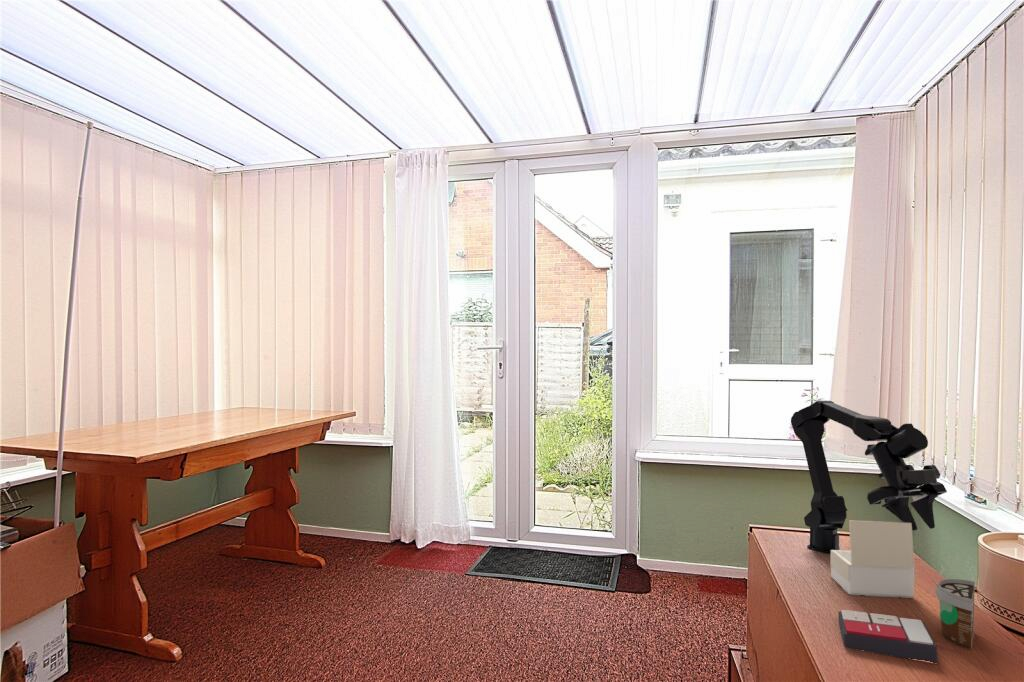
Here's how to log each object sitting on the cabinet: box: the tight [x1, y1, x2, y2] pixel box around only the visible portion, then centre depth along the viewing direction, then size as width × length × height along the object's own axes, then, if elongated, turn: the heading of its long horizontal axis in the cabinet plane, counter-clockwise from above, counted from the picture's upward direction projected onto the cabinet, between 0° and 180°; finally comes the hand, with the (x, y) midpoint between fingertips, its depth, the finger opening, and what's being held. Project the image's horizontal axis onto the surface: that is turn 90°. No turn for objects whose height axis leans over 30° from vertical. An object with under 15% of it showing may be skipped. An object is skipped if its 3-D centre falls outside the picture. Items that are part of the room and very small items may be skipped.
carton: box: [829, 549, 916, 599], centre depth 145 cm, size 10×15×7 cm
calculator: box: [838, 609, 938, 664], centre depth 119 cm, size 11×4×15 cm
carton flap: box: [848, 519, 915, 568], centre depth 141 cm, size 10×14×1 cm
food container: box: [934, 578, 976, 651], centre depth 122 cm, size 12×6×10 cm, turn 141°
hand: (924, 529), depth 142 cm, fingers open, 5 cm apart
